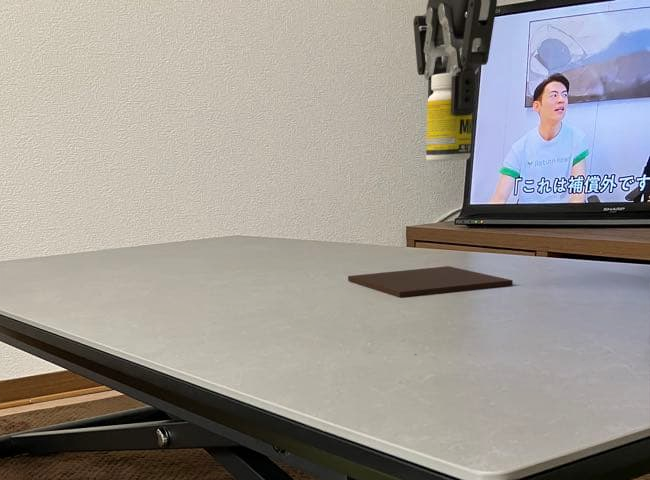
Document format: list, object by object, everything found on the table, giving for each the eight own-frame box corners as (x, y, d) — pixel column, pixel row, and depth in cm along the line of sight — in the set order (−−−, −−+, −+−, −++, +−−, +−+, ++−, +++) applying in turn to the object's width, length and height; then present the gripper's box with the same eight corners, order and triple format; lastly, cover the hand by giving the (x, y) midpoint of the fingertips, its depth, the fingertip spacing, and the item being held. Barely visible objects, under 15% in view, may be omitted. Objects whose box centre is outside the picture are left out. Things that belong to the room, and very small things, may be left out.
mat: (448, 270, 118) (448, 266, 118) (512, 285, 104) (512, 280, 103) (347, 280, 115) (347, 276, 115) (399, 297, 100) (399, 291, 100)
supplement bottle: (465, 160, 95) (468, 70, 92) (421, 162, 97) (422, 74, 94) (474, 158, 99) (478, 72, 96) (432, 160, 101) (434, 76, 97)
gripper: (528, -91, 84) (516, 111, 91) (455, -57, 97) (450, 118, 103) (454, -91, 82) (448, 115, 89) (390, -57, 95) (389, 121, 102)
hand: (449, 115), depth 96 cm, fingers closed on supplement bottle, 4 cm apart
